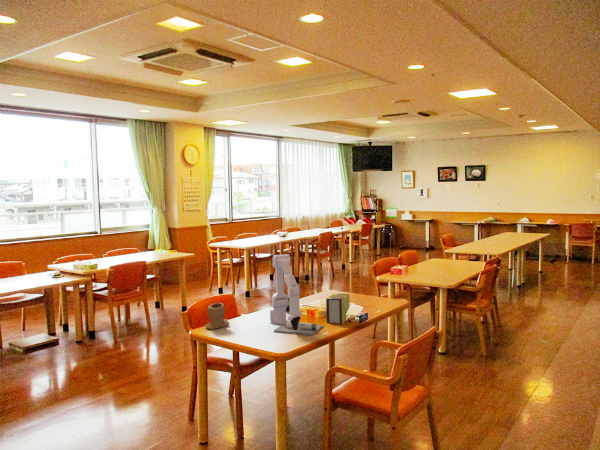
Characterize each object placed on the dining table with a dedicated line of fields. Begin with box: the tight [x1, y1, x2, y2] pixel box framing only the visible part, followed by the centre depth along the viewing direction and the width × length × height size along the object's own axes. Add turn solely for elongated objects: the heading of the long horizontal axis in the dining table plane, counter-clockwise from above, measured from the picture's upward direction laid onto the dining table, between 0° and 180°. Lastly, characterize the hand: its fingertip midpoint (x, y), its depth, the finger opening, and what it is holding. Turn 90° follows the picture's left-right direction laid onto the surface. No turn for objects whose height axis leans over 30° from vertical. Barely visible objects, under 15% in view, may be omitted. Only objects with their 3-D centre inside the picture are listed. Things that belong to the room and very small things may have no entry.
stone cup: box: [204, 302, 230, 330], centre depth 307 cm, size 15×12×15 cm
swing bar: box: [286, 321, 317, 330], centre depth 295 cm, size 18×3×3 cm, turn 67°
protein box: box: [325, 292, 351, 325], centre depth 314 cm, size 10×15×16 cm
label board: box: [273, 323, 324, 337], centre depth 297 cm, size 24×18×1 cm
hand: (295, 329), depth 290 cm, fingers closed
